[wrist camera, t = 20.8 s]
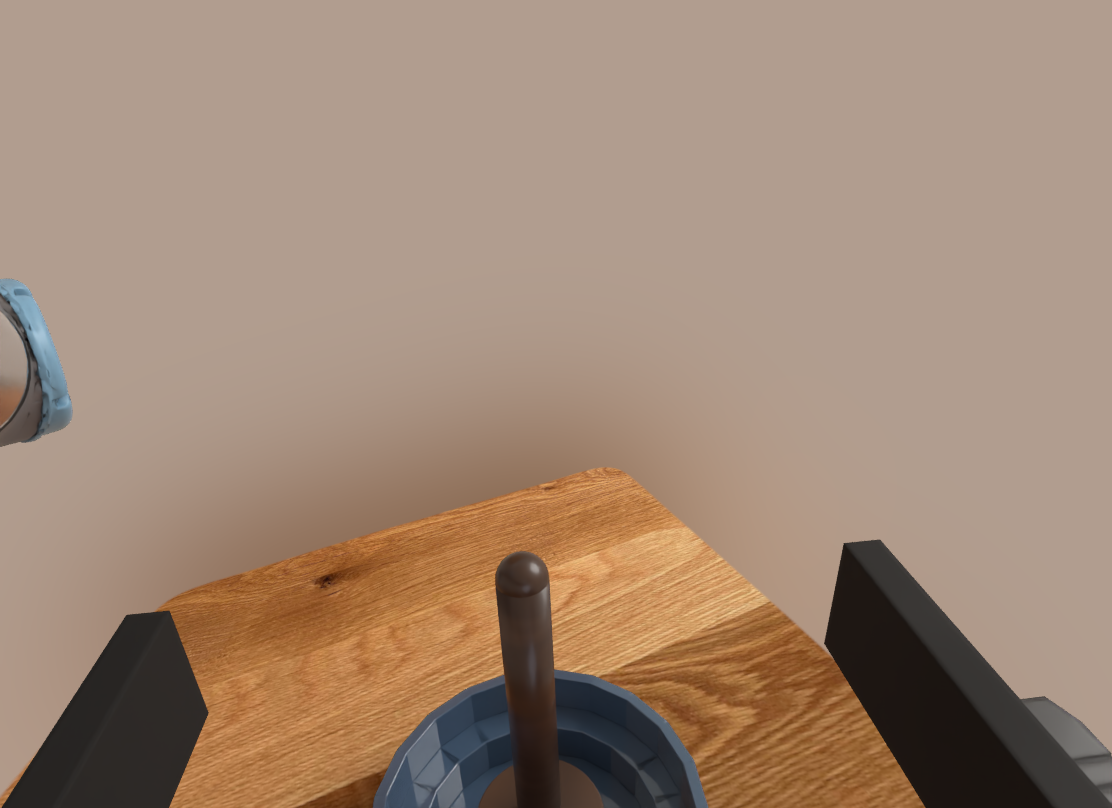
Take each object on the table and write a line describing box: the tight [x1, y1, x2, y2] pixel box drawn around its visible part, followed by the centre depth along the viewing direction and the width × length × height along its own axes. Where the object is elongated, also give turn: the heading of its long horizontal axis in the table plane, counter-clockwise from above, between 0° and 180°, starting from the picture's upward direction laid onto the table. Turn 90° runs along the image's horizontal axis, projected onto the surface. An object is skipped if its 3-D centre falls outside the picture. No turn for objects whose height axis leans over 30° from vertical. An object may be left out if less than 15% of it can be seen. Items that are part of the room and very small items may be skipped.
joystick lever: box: [478, 551, 604, 808], centre depth 28 cm, size 6×6×18 cm
